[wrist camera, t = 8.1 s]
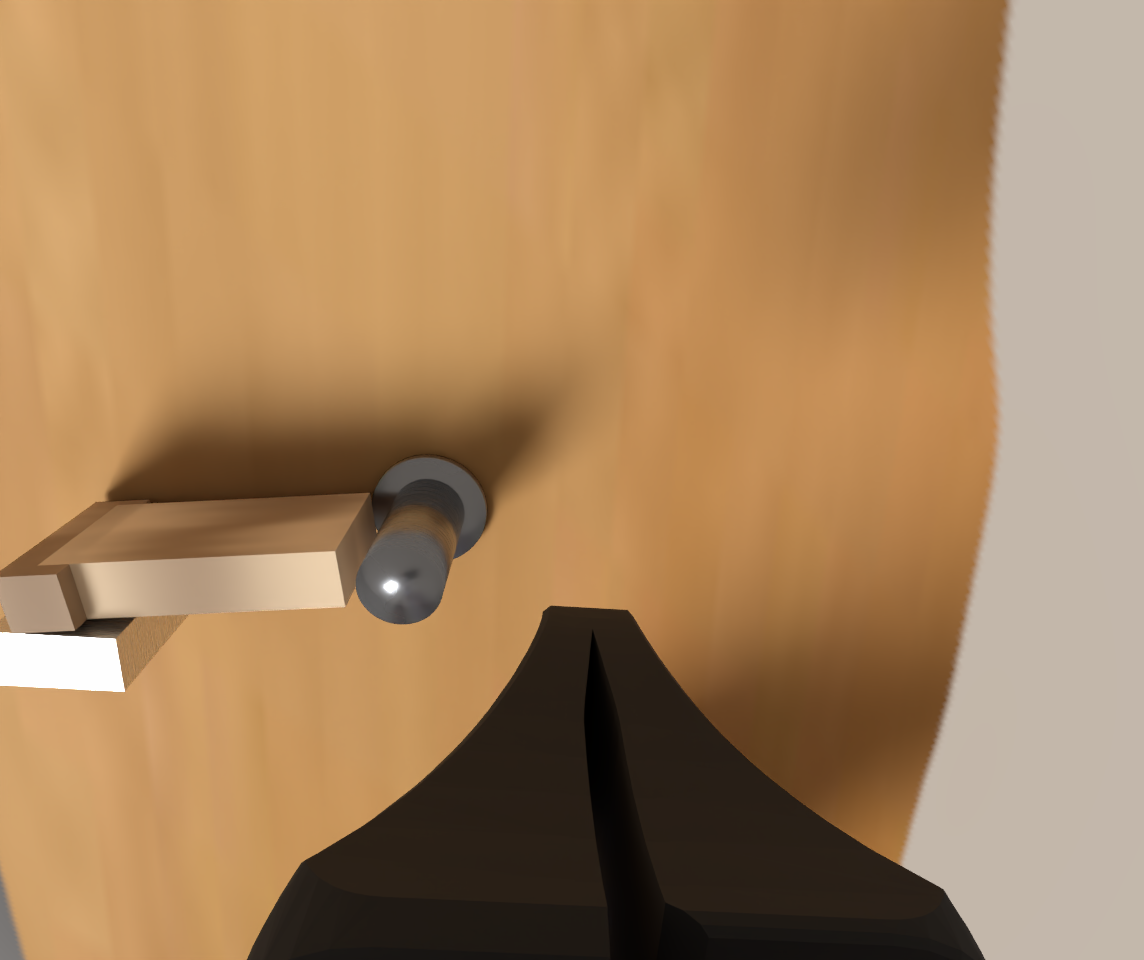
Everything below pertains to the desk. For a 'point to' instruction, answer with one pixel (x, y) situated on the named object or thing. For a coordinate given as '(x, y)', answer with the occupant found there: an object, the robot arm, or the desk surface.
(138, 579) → the light wooden bar
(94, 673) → the white-faced wooden block
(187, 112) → the desk surface
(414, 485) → the pivot post
